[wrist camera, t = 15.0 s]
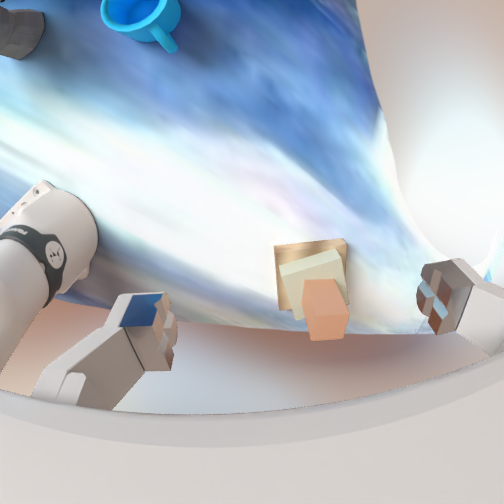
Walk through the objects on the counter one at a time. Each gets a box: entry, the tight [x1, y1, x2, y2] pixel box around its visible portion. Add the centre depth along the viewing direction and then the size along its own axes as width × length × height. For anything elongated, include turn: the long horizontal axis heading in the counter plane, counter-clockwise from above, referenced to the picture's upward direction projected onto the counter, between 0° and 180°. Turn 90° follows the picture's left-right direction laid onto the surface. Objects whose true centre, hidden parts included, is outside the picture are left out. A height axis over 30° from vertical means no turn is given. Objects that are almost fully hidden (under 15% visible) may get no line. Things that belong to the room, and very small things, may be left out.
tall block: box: [301, 279, 350, 341], centre depth 41 cm, size 4×4×8 cm
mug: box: [101, 0, 181, 53], centre depth 27 cm, size 12×8×8 cm
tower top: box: [279, 248, 349, 321], centre depth 46 cm, size 9×9×3 cm
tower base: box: [274, 238, 347, 311], centre depth 49 cm, size 11×11×3 cm
